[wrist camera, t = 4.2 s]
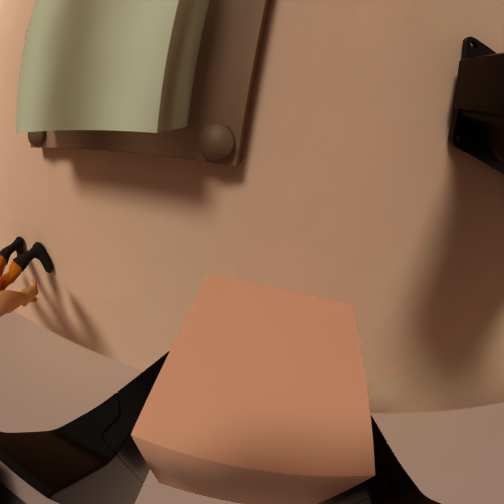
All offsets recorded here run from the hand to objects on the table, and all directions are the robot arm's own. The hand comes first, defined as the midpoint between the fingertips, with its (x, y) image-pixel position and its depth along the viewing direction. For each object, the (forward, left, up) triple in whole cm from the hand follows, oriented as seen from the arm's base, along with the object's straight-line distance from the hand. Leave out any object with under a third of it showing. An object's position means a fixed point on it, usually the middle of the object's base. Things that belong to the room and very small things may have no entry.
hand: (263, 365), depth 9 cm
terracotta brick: (0, 0, -1) cm, 1 cm away
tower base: (+10, -11, -7) cm, 16 cm away
